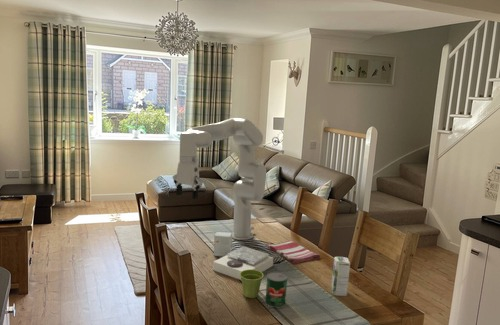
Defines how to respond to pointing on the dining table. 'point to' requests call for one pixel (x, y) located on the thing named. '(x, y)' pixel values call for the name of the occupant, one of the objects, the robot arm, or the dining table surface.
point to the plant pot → (251, 282)
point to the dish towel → (293, 252)
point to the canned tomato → (276, 289)
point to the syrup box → (340, 276)
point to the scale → (239, 266)
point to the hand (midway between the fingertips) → (187, 196)
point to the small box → (222, 243)
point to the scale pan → (248, 255)
